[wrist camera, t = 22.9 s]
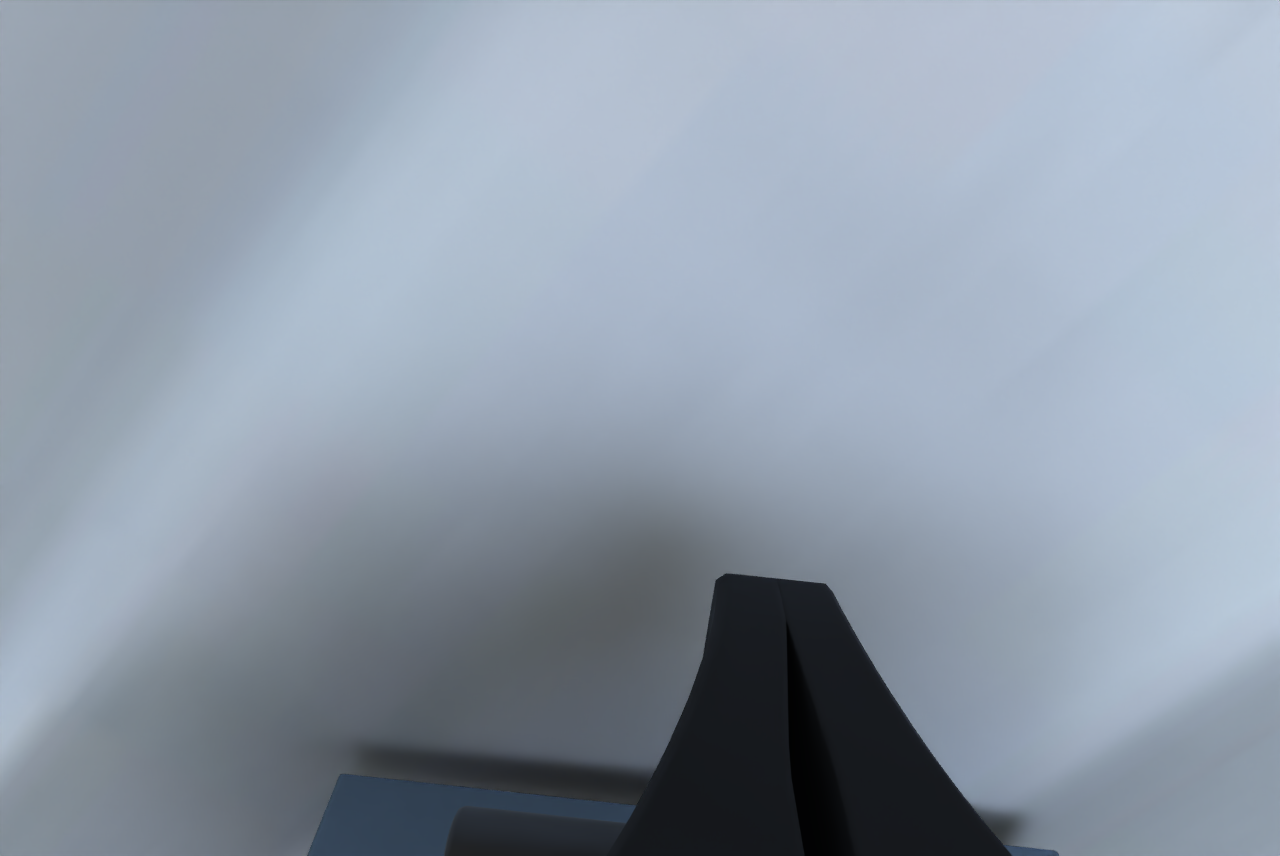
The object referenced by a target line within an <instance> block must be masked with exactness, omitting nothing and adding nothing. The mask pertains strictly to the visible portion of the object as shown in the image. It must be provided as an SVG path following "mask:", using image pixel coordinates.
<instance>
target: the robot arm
mask: <svg viewBox="0 0 1280 856" xmlns="http://www.w3.org/2000/svg"><path fill="white" fill-rule="evenodd" d="M607 856H1012V854H1011V853H1010V852H1009V851H1008V850H1007V849H1006V847H1005V846H1004V845H1003V844H1002V843H1001V842H1000V840H999V839H998V838H997V837H996V836H995V834H994V833H993V832H992V831H991V830H990V829H989V827H988V826H987V825H986V824H985V823H984V821H983V820H982V819H981V818H980V816H979V815H978V814H977V813H976V811H975V810H974V809H973V808H972V806H971V805H970V804H969V803H968V801H967V800H966V799H965V797H964V796H963V795H962V793H961V792H960V791H959V790H958V788H957V787H956V786H955V784H954V783H953V782H952V780H951V779H950V778H949V776H948V775H947V773H946V772H945V771H944V769H943V768H942V767H941V765H940V764H939V763H938V761H937V760H936V759H935V757H934V756H933V754H932V753H931V752H930V750H929V749H928V747H927V746H926V745H925V743H924V742H923V740H922V739H921V737H920V736H919V734H918V733H917V732H916V730H915V729H914V727H913V726H912V724H911V723H910V721H909V720H908V718H907V717H906V715H905V713H904V712H903V710H902V709H901V707H900V706H899V704H898V703H897V701H896V700H895V698H894V697H893V695H892V694H891V692H890V691H889V689H888V688H887V686H886V684H885V683H884V681H883V679H882V678H881V676H880V675H879V673H878V671H877V670H876V668H875V666H874V665H873V663H872V661H871V660H870V658H869V656H868V655H867V653H866V651H865V650H864V648H863V646H862V645H861V643H860V641H859V639H858V638H857V636H856V634H855V632H854V631H853V629H852V627H851V625H850V623H849V622H848V620H847V618H846V616H845V614H844V612H843V611H842V609H841V607H840V605H839V603H838V601H837V599H836V597H835V596H834V594H833V592H832V591H831V590H830V588H829V587H828V586H827V585H826V584H823V583H814V582H804V581H795V580H785V579H776V578H766V577H757V576H747V575H738V574H728V573H726V574H724V575H723V576H721V577H719V578H718V579H716V581H715V587H714V593H713V599H712V605H711V611H710V617H709V624H708V630H707V636H706V642H705V648H704V654H703V659H702V661H701V664H700V667H699V670H698V673H697V676H696V679H695V682H694V684H693V687H692V690H691V693H690V695H689V698H688V700H687V703H686V705H685V707H684V710H683V712H682V714H681V716H680V719H679V721H678V723H677V725H676V728H675V730H674V732H673V734H672V737H671V739H670V741H669V743H668V746H667V748H666V750H665V752H664V754H663V756H662V758H661V760H660V762H659V764H658V766H657V768H656V770H655V772H654V774H653V776H652V778H651V780H650V782H649V784H648V786H647V787H646V789H645V791H644V793H643V795H642V796H641V798H640V800H639V802H638V804H637V806H636V807H635V809H634V811H633V813H632V814H631V816H630V818H629V820H628V821H627V823H626V825H625V826H624V828H623V829H622V831H621V833H620V834H619V836H618V838H617V839H616V841H615V843H614V844H613V846H612V847H611V849H610V851H609V852H608V854H607Z"/></svg>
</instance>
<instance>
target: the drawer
mask: <svg viewBox="0 0 1280 856" xmlns="http://www.w3.org/2000/svg"><path fill="white" fill-rule="evenodd" d="M636 806H637V805H627V804H618V803H609V802H600V801H590V800H581V799H572V798H562V797H553V796H544V795H535V794H525V793H516V792H507V791H498V790H488V789H479V788H470V787H461V786H451V785H442V784H433V783H423V782H414V781H405V780H396V779H386V778H377V777H368V776H359V775H349V774H341V775H340V776H339V777H338V780H337V782H336V785H335V787H334V790H333V792H332V795H331V797H330V800H329V802H328V805H327V807H326V810H325V812H324V815H323V817H322V820H321V822H320V825H319V827H318V830H317V832H316V835H315V837H314V840H313V842H312V845H311V847H310V850H309V852H308V855H307V856H607V854H608V852H609V851H610V849H611V847H612V846H613V844H614V843H615V841H616V839H617V838H618V836H619V834H620V833H621V831H622V829H623V828H624V826H625V825H626V823H627V821H628V820H629V818H630V816H631V814H632V813H633V811H634V809H635V807H636ZM1004 846H1005V847H1006V849H1007V850H1008V851H1009V852H1010V853H1011V854H1012V856H1059V854H1058V853H1057V852H1056V851H1054V850H1044V849H1035V848H1026V847H1017V846H1007V845H1004Z"/></svg>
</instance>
